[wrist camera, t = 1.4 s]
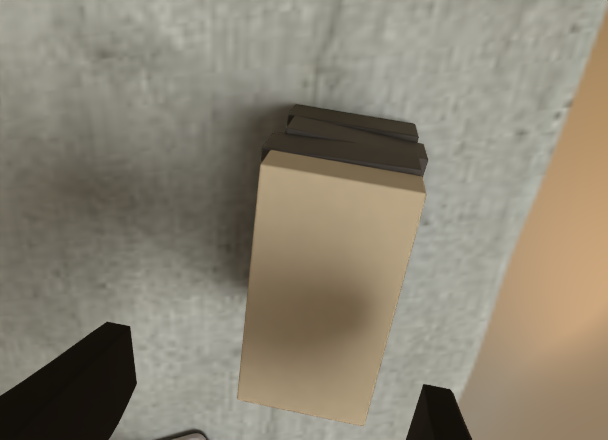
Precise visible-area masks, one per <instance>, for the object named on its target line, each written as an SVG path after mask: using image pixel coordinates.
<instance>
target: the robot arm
mask: <svg viewBox="0 0 608 440" xmlns="http://www.w3.org/2000/svg"><path fill="white" fill-rule="evenodd" d="M136 384H137V381H136V372H135V364H134V355H133V347H132V338H131V330H130V326H126V325H121V324H116V323H111V322H106V323H104V324H103V325H102V326H100V327H99V328H97V329H96V330H94V331H93V332H92V333H90V334H89V335H87V336H86V337H85V338H83V339H82V340H80V341H79V342H78V343H76V344H75V345H74V346H72V347H71V348H69V349H68V350H67V351H65V352H64V353H62V354H61V355H60V356H58V357H57V358H55V359H54V360H53V361H51V362H50V363H48V364H47V365H45V366H44V367H43V368H41V369H40V370H38V371H37V372H35V373H34V374H32V375H31V376H30V377H28V378H27V379H25V380H24V381H22V382H21V383H19V384H18V385H16V386H15V387H13V388H12V389H10V390H9V391H7V392H6V393H4V394H2V395H1V396H0V440H109V438H110V437H111V435H112V433H113V432H114V430H115V428H116V427H117V425H118V423H119V421H120V419H121V417H122V415H123V413H124V411H125V409H126V407H127V405H128V402H129V400H130V398H131V396H132V393H133V391H134V389H135V387H136ZM172 440H206V438H205V437H204V436H203V435H201V434H198V433H194V434H190V435H187V436H183V437H179V438H176V439H172ZM406 440H472V438H471V436H470V434H469V431H468V429H467V426H466V424H465V422H464V419H463V417H462V414H461V412H460V409H459V407H458V404H457V402H456V399H455V396H454V394H453V392H452V391H451V390H450V389H446V388H441V387H436V386H431V385H426V384H423V387H422V390H421V394H420V397H419V400H418V403H417V406H416V409H415V413H414V416H413V419H412V422H411V425H410V428H409V431H408V435H407V438H406Z"/></svg>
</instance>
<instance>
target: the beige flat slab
mask: <svg viewBox="0 0 608 440" xmlns="http://www.w3.org/2000/svg"><path fill="white" fill-rule="evenodd" d="M425 199H426V190H425V186H424V182H423V177H422V176H417V175H412V174H406V173H400V172H395V171H389V170H383V169H377V168H372V167H366V166H360V165H355V164H349V163H343V162H337V161H332V160H326V159H320V158H315V157H309V156H303V155H297V154H292V153H286V152H280V151H275V150H270V152H269V153H268V155H267V156H266V157H265V159H264V160H263V162H262V163H261V165H260V172H259V182H258V192H257V202H256V212H255V223H254V233H253V243H252V253H251V263H250V273H249V283H248V293H247V304H246V314H245V324H244V334H243V344H242V354H241V364H240V374H239V385H238V395H237V399H238V400H241V401H246V402H250V403H255V404H260V405H265V406H269V407H274V408H279V409H283V410H288V411H293V412H298V413H302V414H307V415H312V416H316V417H321V418H326V419H331V420H335V421H340V422H345V423H349V424H354V425H359V426H364V425H365V421H366V417H367V413H368V410H369V406H370V402H371V399H372V395H373V391H374V388H375V384H376V380H377V376H378V373H379V369H380V365H381V362H382V358H383V354H384V351H385V347H386V343H387V339H388V336H389V332H390V328H391V325H392V321H393V317H394V314H395V310H396V306H397V302H398V299H399V295H400V291H401V288H402V284H403V280H404V277H405V273H406V269H407V265H408V262H409V258H410V254H411V251H412V247H413V243H414V240H415V236H416V232H417V228H418V225H419V221H420V217H421V214H422V210H423V206H424V203H425Z"/></svg>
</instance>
